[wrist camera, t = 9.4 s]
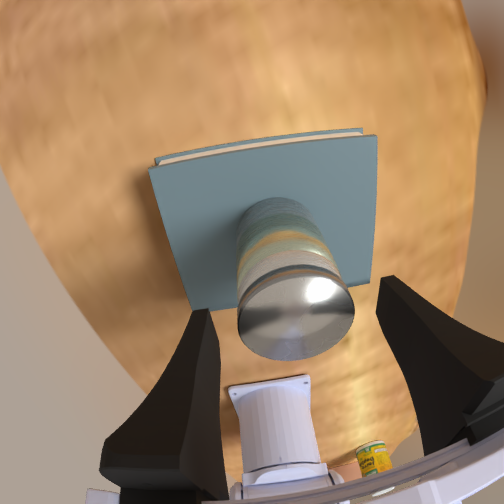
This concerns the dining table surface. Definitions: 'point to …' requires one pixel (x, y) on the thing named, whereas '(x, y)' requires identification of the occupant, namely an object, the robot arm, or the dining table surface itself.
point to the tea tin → (288, 283)
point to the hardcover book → (260, 188)
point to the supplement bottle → (374, 460)
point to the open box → (348, 471)
